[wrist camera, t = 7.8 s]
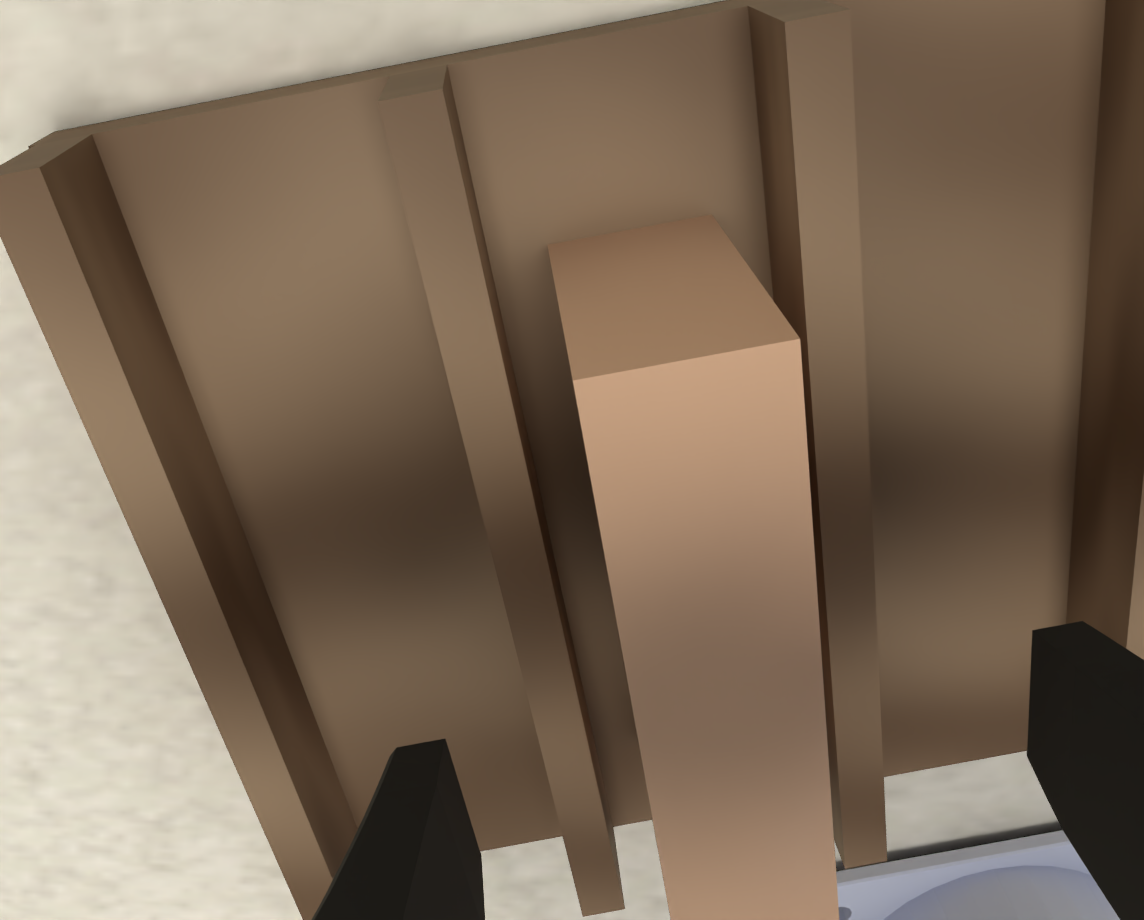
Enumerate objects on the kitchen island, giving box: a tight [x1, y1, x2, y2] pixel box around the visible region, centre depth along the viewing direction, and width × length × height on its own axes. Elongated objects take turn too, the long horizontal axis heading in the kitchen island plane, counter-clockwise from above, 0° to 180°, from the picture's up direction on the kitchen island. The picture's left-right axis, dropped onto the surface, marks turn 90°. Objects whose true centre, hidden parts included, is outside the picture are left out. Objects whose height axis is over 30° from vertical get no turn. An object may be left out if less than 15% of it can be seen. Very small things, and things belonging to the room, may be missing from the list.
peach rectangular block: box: [547, 214, 839, 920], centre depth 16 cm, size 10×2×5 cm, turn 9°
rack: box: [0, 0, 1144, 920], centre depth 18 cm, size 15×16×3 cm
